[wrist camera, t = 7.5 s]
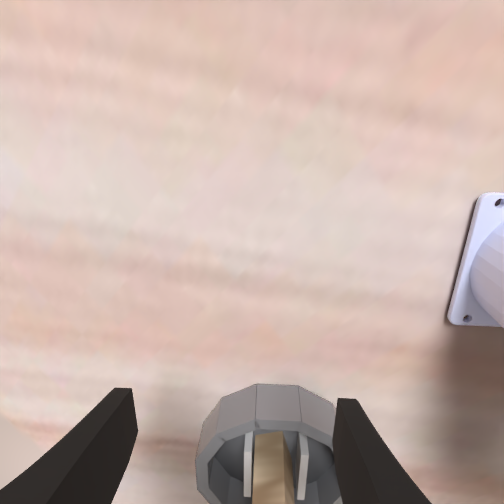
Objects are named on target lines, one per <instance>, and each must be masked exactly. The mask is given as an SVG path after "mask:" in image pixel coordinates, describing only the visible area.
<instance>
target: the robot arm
mask: <svg viewBox="0 0 504 504" xmlns="http://www.w3.org/2000/svg"><path fill="white" fill-rule="evenodd" d="M498 199H501V202H500V204H499V205H498V206H495V202H496V201H497V200H498ZM466 315H468V317H467V318H465V319H463V317H464V316H466ZM447 318H448V320H449V321H450V322H451V323H452V324H454V325H468V326H494V327H503V328H504V193H500V192H487V193H484V194H482V195H481V196H480V197H479V198H478V200H477V203H476V206H475V210H474V214H473V218H472V222H471V226H470V230H469V234H468V237H467V241H466V245H465V249H464V253H463V257H462V261H461V265H460V268H459V272H458V276H457V280H456V284H455V288H454V292H453V295H452V299H451V303H450V307H449V311H448V315H447ZM137 434H138V427H137V420H136V414H135V407H134V400H133V393H132V388H114V389H113V390H112V391H111V392H110V393H109V394H108V395H107V396H106V397H105V398H104V399H103V400H102V401H101V402H100V403H99V404H98V405H97V406H96V407H95V408H94V409H93V410H91V411H90V412H89V413H88V414H87V415H86V416H85V417H84V418H83V419H82V420H81V421H80V422H79V423H78V424H77V425H76V426H75V427H74V428H73V429H72V430H71V431H70V432H69V433H68V434H67V435H65V436H64V437H63V438H62V439H61V440H60V441H59V442H58V443H57V444H56V445H54V446H53V447H52V448H51V449H50V450H49V451H48V452H46V453H45V454H44V455H43V456H42V457H41V458H40V459H39V460H37V461H36V462H35V463H34V464H33V465H31V466H30V467H29V468H28V469H27V470H25V471H24V472H23V473H22V474H20V475H19V476H18V477H17V478H15V479H14V480H13V481H12V482H10V483H9V484H8V485H6V486H5V487H4V488H2V489H1V490H0V504H111V503H112V500H113V498H114V496H115V494H116V491H117V489H118V487H119V484H120V482H121V479H122V477H123V475H124V472H125V470H126V468H127V465H128V463H129V460H130V457H131V454H132V450H133V447H134V444H135V440H136V437H137ZM332 446H333V454H334V462H335V470H336V476H337V480H338V485H339V489H340V494H341V498H342V502H343V504H432V503H431V502H430V501H429V500H428V499H427V498H426V496H425V495H424V494H423V493H422V492H421V490H420V489H419V488H418V487H417V485H416V484H415V483H414V482H413V480H412V479H411V478H410V477H409V475H408V474H407V473H406V471H405V470H404V469H403V468H402V466H401V465H400V464H399V462H398V461H397V459H396V458H395V457H394V455H393V454H392V452H391V451H390V450H389V448H388V447H387V445H386V444H385V443H384V441H383V440H382V438H381V437H380V435H379V434H378V432H377V431H376V429H375V428H374V426H373V425H372V423H371V421H370V420H369V418H368V417H367V415H366V413H365V412H364V410H363V409H362V407H361V405H360V403H359V402H358V401H357V400H356V399H346V398H338V401H337V408H336V415H335V423H334V430H333V438H332Z"/></svg>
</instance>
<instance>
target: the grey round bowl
mask: <svg viewBox="0 0 504 504" xmlns="http://www.w3.org/2000/svg"><path fill="white" fill-rule="evenodd" d="M335 415H336V408H335V407H334V405H333V404H332V403H331V402H329V401H327V400H325V399H323V398H321V397H319V396H317V395H315V394H313V393H311V392H309V391H308V390H306V389H304V388H302V387H300V386H293V385H271V384H255V385H253V386H250V387H248V388H245V389H243V390H240V391H238V392H235V393H233V394H230V395H228V396H225V397H223V398H221V400H220V401H219V402H218V404H217V405H216V406H215V408H214V409H213V410H212V412H211V413H210V414H209V416H208V417H207V418H206V420H205V421H204V422H203V427H202V431H201V436H200V441H199V445H198V450H197V455H196V459H195V464H196V479H197V490H198V491H199V492H200V493H201V494H202V495H203V497H204V498H205V499H206V500H207V501H208V502H209V503H210V504H252V495H253V474H254V453H255V435H260V434H266V433H272V432H278V431H283V434H284V437H285V440H286V443H287V446H288V449H289V452H290V455H291V458H292V468H293V485H294V502H295V504H343V502H342V498H341V494H340V489H339V485H338V480H337V476H336V470H335V462H334V454H333V446H332V438H333V430H334V423H335Z"/></svg>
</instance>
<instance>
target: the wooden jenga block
mask: <svg viewBox="0 0 504 504" xmlns="http://www.w3.org/2000/svg"><path fill="white" fill-rule="evenodd" d="M252 504H295V502H294V485H293V468H292V458H291V455H290V452H289V449H288V446H287V443H286V440H285V437H284V434H283V431H278V432H272V433H266V434H260V435H255V453H254V474H253V495H252Z"/></svg>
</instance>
